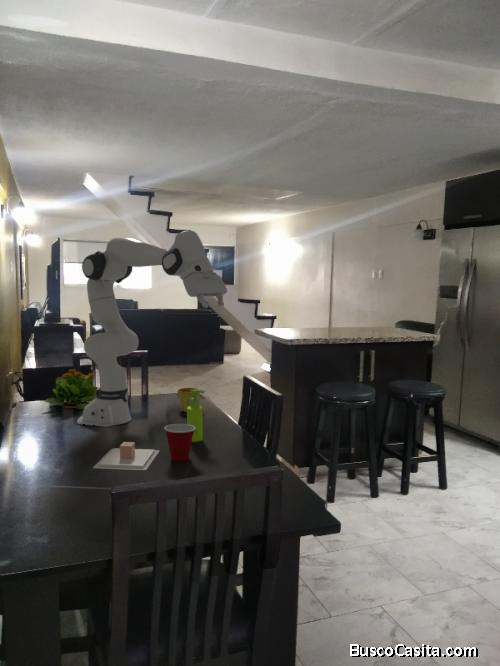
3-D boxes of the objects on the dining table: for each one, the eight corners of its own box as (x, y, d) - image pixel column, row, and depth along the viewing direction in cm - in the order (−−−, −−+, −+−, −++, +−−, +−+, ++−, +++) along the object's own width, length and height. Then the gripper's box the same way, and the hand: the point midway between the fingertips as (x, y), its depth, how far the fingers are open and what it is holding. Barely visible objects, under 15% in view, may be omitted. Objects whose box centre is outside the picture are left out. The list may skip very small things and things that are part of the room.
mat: (92, 469, 165) (92, 468, 165) (111, 450, 183) (111, 448, 183) (146, 471, 164) (146, 470, 164) (159, 451, 182) (159, 450, 182)
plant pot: (194, 406, 242) (194, 386, 241) (203, 411, 233) (203, 390, 232) (174, 409, 237) (174, 388, 236) (182, 414, 228) (182, 393, 227)
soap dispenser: (202, 443, 190) (202, 392, 188) (185, 442, 192) (184, 391, 189) (207, 438, 196) (206, 388, 193) (190, 437, 197) (189, 387, 195)
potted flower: (48, 416, 224) (46, 378, 221) (39, 404, 244) (37, 368, 241) (104, 408, 237) (103, 372, 235) (91, 397, 257) (90, 363, 254)
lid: (98, 466, 166) (97, 451, 166) (113, 450, 181) (113, 436, 181) (142, 468, 165) (142, 452, 165) (154, 451, 180) (154, 437, 180)
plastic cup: (201, 457, 177) (201, 424, 175) (185, 468, 167) (184, 433, 165) (175, 452, 181) (175, 420, 180) (158, 462, 172) (157, 428, 170)
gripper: (210, 276, 192) (223, 309, 190) (176, 275, 175) (190, 311, 173) (223, 268, 189) (236, 302, 187) (189, 266, 172) (203, 303, 170)
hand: (214, 306), depth 180 cm, fingers open, 8 cm apart
